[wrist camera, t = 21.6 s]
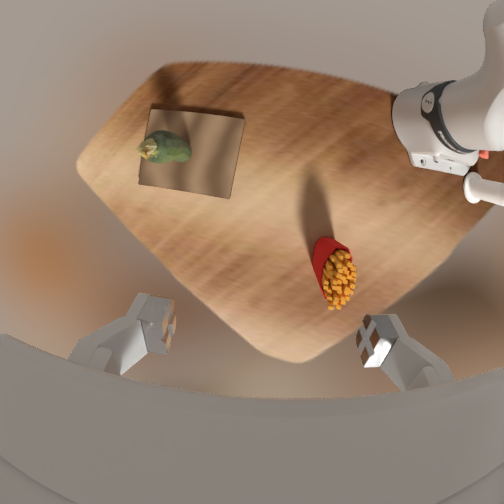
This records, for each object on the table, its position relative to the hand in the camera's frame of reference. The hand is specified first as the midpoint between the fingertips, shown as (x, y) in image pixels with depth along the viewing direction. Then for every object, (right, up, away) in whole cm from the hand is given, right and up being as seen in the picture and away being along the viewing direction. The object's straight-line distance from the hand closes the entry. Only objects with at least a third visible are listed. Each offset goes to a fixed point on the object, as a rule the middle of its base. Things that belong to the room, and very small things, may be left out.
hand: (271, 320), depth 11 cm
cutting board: (-12, +20, +34) cm, 41 cm away
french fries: (+13, +2, +39) cm, 41 cm away
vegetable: (-12, +20, +33) cm, 40 cm away
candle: (+48, +17, +33) cm, 61 cm away
